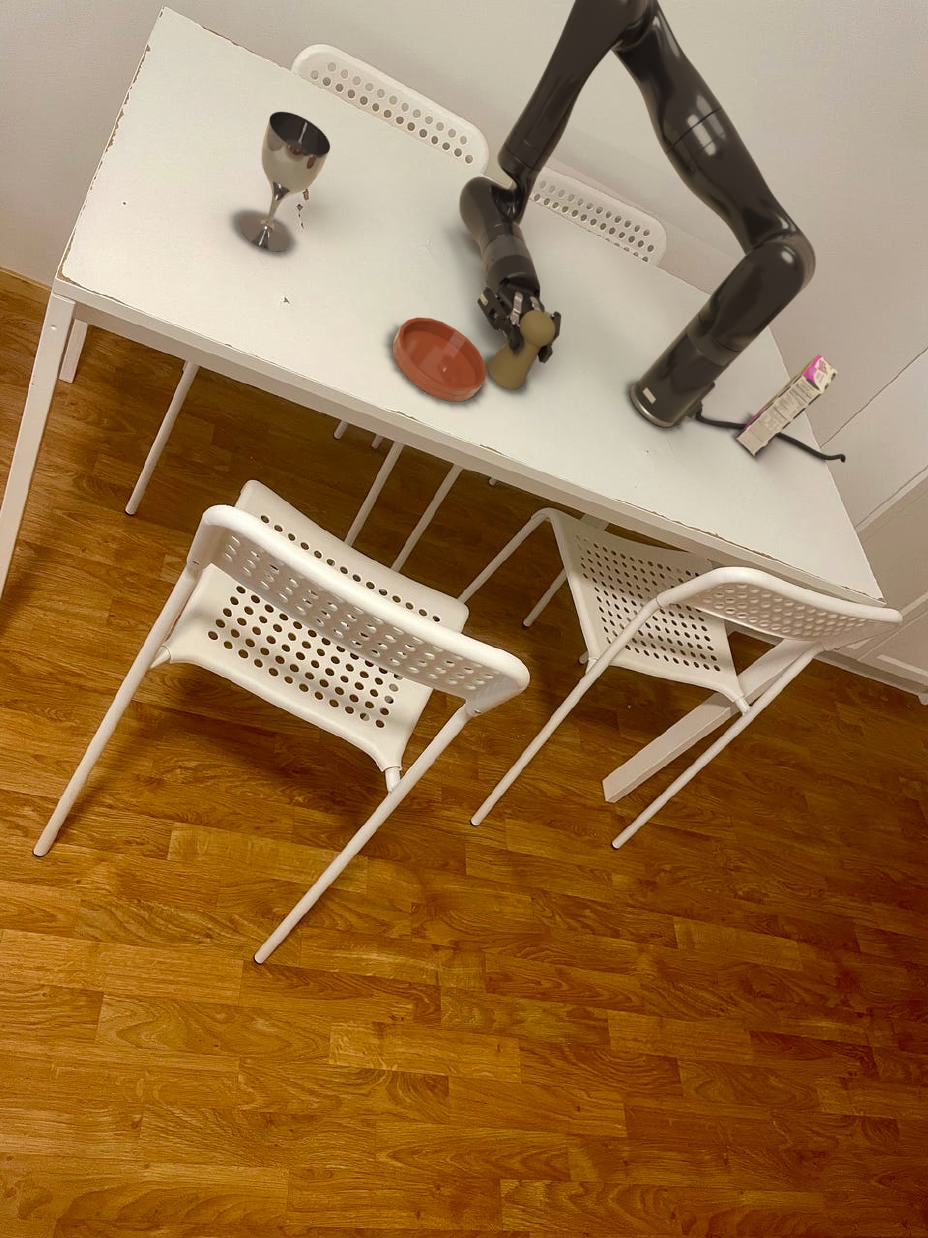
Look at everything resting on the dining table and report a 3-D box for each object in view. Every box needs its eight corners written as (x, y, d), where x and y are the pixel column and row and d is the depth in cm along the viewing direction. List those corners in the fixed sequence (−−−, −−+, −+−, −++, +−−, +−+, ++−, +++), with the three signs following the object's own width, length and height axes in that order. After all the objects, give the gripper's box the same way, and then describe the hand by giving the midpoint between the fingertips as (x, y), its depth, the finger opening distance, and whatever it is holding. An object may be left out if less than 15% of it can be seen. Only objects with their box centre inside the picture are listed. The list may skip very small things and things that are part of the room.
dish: (469, 343, 127) (476, 332, 126) (485, 410, 121) (493, 400, 119) (387, 318, 121) (393, 306, 119) (399, 387, 114) (406, 376, 113)
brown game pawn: (517, 396, 126) (558, 341, 118) (483, 374, 125) (521, 317, 117) (525, 374, 130) (565, 320, 122) (492, 352, 129) (530, 296, 121)
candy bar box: (751, 416, 159) (818, 352, 147) (770, 434, 159) (839, 372, 147) (733, 438, 151) (802, 372, 139) (753, 457, 151) (825, 393, 139)
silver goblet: (303, 246, 120) (342, 151, 109) (265, 258, 115) (301, 158, 104) (264, 208, 120) (299, 108, 109) (223, 218, 115) (255, 114, 104)
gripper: (482, 238, 123) (503, 320, 115) (562, 269, 130) (587, 348, 122) (458, 279, 129) (477, 360, 121) (536, 306, 136) (559, 385, 127)
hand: (532, 353), depth 121 cm, fingers closed on brown game pawn, 4 cm apart
